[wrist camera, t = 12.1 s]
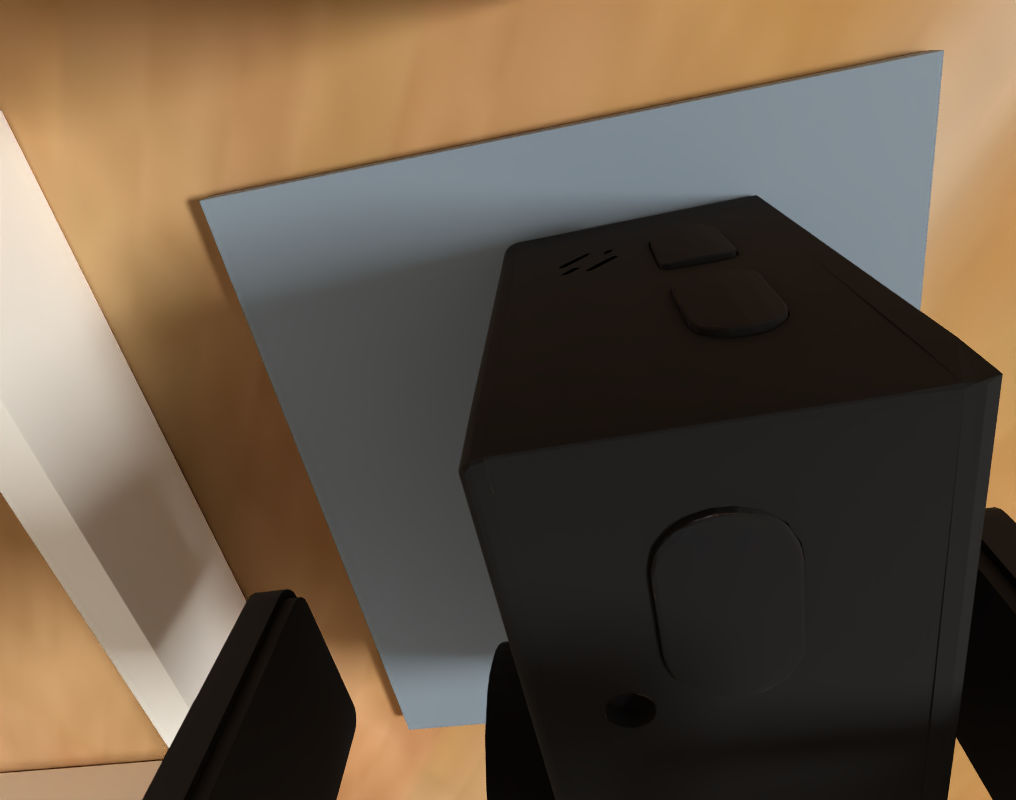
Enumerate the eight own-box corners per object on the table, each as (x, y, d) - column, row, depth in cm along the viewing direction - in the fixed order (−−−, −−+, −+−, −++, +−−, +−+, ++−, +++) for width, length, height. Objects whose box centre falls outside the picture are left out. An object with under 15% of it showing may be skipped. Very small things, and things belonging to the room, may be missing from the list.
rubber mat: (209, 195, 12) (199, 200, 12) (930, 49, 10) (943, 50, 10) (411, 716, 18) (409, 729, 18) (878, 677, 17) (885, 691, 16)
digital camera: (435, 250, 12) (311, 479, 6) (754, 186, 11) (1019, 370, 5) (545, 662, 16) (543, 1034, 10) (775, 637, 16) (922, 1025, 9)
